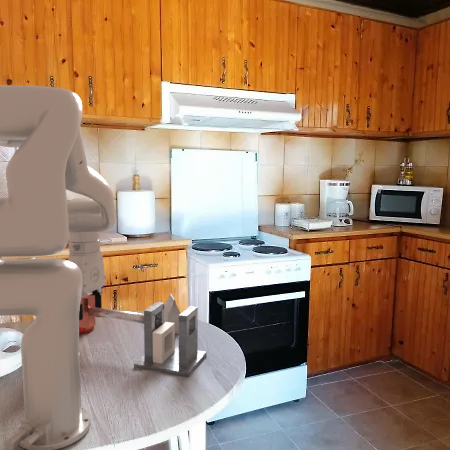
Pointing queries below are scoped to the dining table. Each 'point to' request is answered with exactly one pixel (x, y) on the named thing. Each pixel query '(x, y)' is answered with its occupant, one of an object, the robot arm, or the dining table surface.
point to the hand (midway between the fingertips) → (86, 313)
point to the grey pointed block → (172, 312)
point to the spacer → (163, 342)
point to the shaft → (105, 313)
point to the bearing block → (183, 355)
